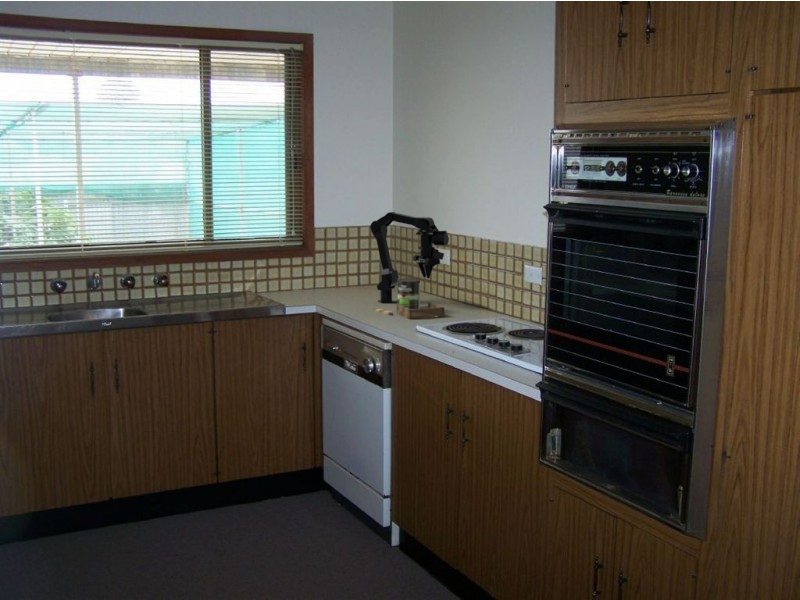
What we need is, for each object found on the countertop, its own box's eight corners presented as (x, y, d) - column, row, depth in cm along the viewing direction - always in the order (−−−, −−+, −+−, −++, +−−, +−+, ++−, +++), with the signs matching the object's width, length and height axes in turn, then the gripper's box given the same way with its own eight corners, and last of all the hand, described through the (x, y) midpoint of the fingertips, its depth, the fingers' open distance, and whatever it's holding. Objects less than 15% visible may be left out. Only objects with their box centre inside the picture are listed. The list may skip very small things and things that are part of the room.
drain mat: (416, 307, 426) (416, 306, 426) (434, 306, 429) (434, 305, 429) (424, 310, 418) (424, 309, 418) (442, 309, 421) (442, 308, 421)
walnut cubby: (396, 313, 410) (396, 304, 409) (430, 311, 416) (430, 302, 415) (409, 319, 396) (409, 310, 395) (444, 316, 402) (444, 307, 401)
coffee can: (413, 313, 411) (413, 281, 408) (393, 311, 416) (393, 280, 413) (424, 309, 420) (424, 279, 418) (404, 307, 424) (403, 277, 422)
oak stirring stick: (373, 311, 417) (373, 308, 417) (377, 311, 418) (377, 307, 418) (389, 316, 406) (389, 312, 405) (392, 315, 407) (392, 312, 406)
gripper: (450, 245, 421) (450, 279, 424) (434, 242, 438) (434, 274, 441) (428, 246, 417) (428, 280, 420) (412, 243, 434) (412, 275, 437)
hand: (426, 277), depth 429 cm, fingers open, 4 cm apart
